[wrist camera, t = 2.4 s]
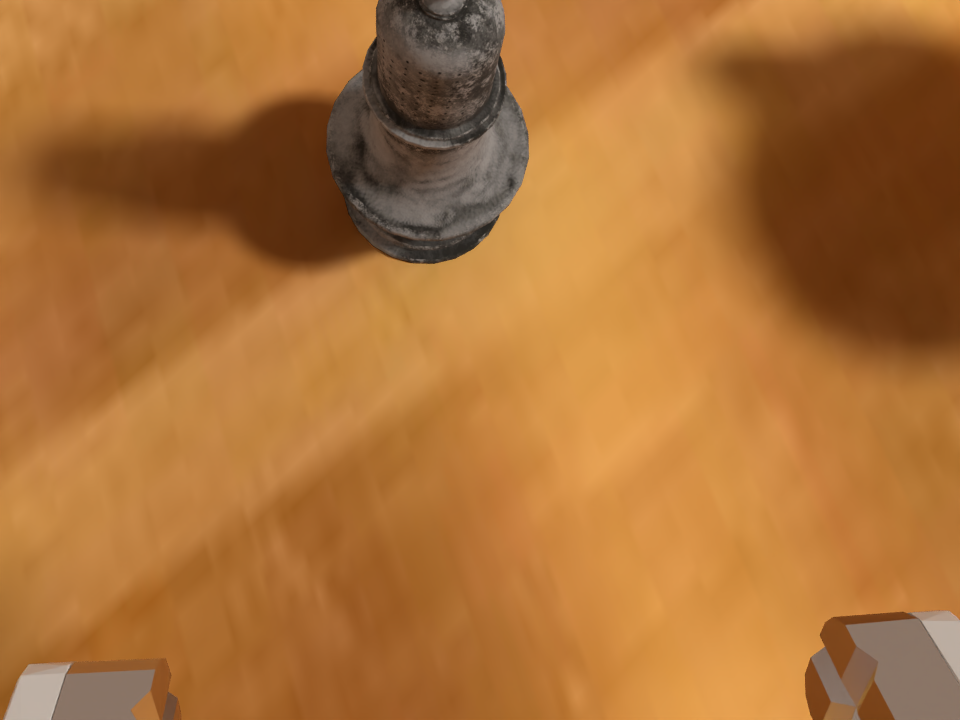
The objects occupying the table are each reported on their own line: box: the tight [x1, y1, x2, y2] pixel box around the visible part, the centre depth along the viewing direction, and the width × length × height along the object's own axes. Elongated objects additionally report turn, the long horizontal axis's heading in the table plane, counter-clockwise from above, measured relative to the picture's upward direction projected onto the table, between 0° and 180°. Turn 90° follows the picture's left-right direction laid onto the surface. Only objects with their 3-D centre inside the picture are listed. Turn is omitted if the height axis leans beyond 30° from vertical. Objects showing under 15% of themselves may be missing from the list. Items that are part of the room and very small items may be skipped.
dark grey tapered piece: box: [326, 0, 529, 264], centre depth 23 cm, size 6×6×12 cm
